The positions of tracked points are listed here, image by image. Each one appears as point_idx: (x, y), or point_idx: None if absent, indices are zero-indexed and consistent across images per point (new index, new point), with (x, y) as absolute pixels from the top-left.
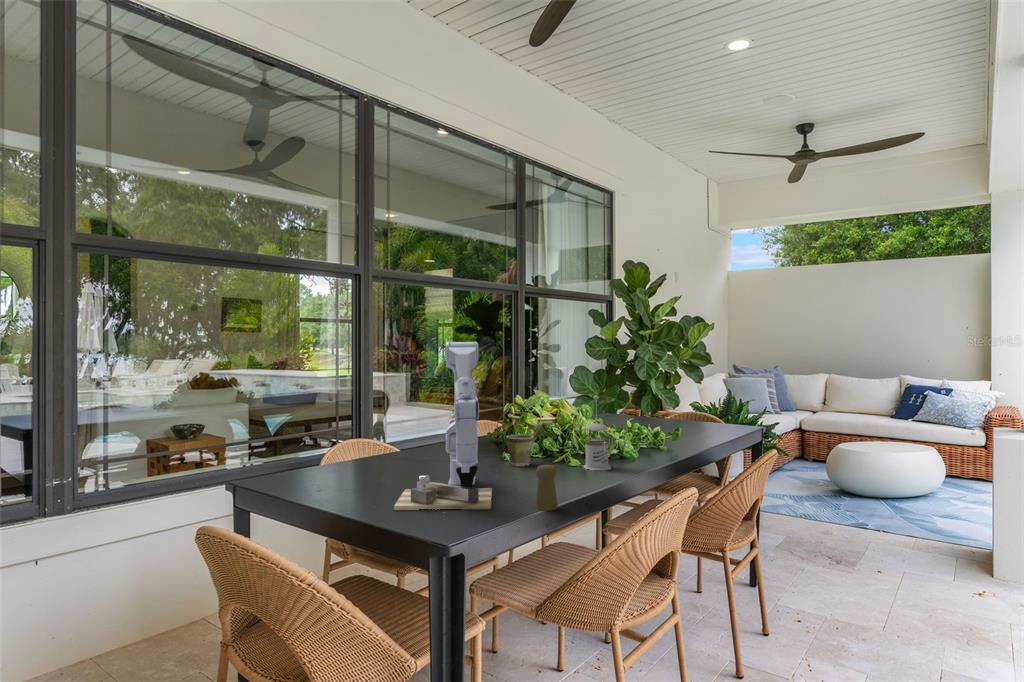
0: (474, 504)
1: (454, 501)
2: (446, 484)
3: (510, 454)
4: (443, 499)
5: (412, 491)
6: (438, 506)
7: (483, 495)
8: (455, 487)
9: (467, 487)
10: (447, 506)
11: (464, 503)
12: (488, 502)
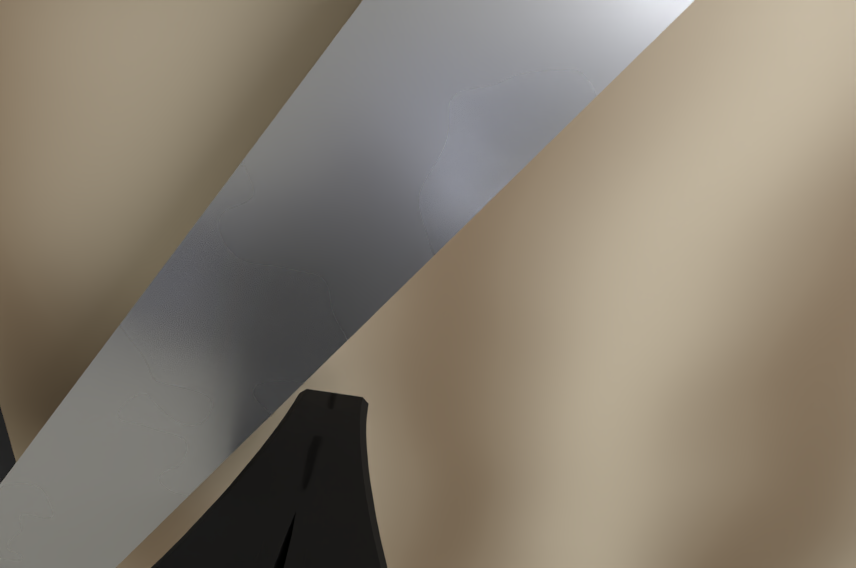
0: (15, 431)
1: (163, 206)
2: (437, 188)
3: None
4: (321, 13)
5: None
6: None
7: (465, 559)
8: (89, 370)
9: (84, 556)
10: None
11: (52, 331)
12: (128, 556)
